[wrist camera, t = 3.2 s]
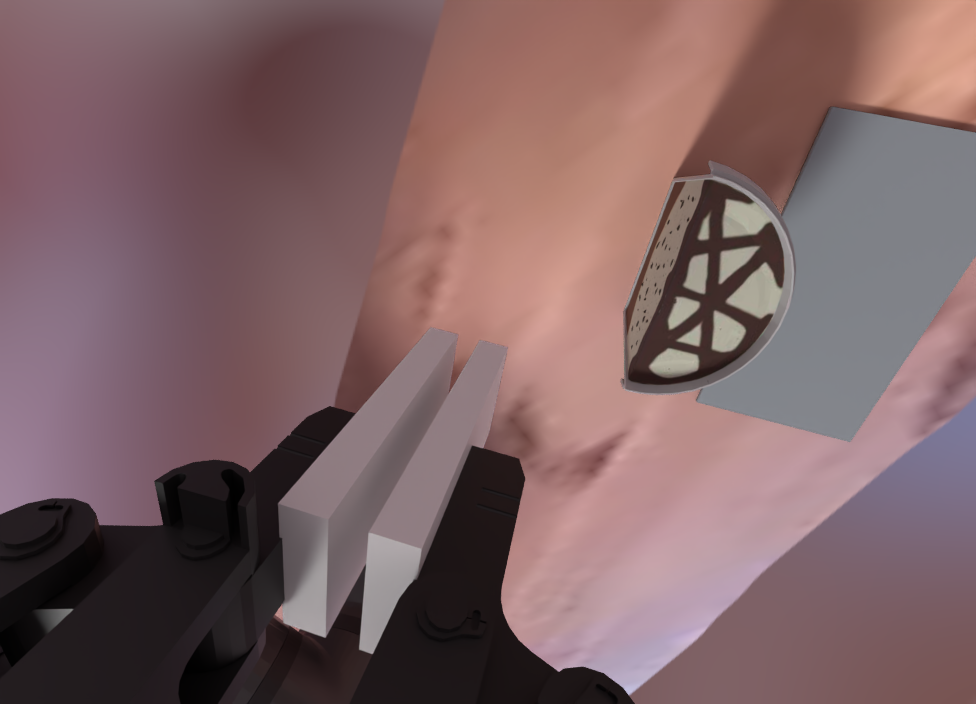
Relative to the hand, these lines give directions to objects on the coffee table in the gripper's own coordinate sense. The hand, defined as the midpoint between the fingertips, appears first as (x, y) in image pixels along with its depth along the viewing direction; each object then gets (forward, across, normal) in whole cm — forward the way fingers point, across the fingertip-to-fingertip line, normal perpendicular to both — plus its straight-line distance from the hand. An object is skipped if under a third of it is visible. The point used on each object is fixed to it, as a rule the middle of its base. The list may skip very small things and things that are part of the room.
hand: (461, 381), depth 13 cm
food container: (+23, +10, 0) cm, 25 cm away
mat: (+22, +20, 0) cm, 30 cm away
